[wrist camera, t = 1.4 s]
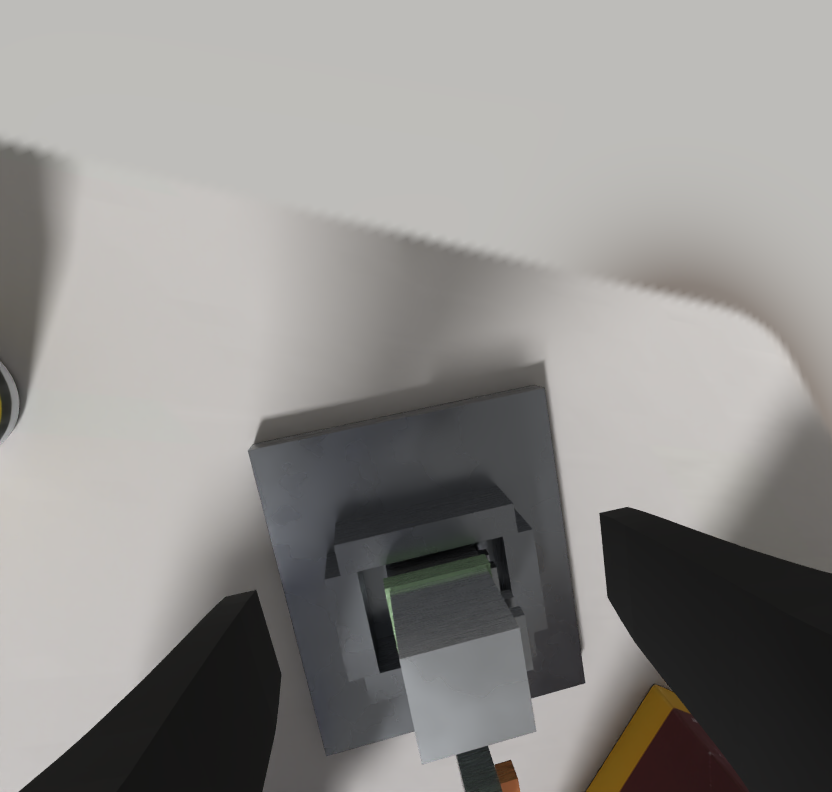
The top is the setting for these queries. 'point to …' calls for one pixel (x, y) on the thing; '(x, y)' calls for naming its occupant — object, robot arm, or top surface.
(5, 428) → the supplement bottle
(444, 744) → the gray slotted block
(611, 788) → the supplement box
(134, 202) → the top surface
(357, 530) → the stand base
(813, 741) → the robot arm
